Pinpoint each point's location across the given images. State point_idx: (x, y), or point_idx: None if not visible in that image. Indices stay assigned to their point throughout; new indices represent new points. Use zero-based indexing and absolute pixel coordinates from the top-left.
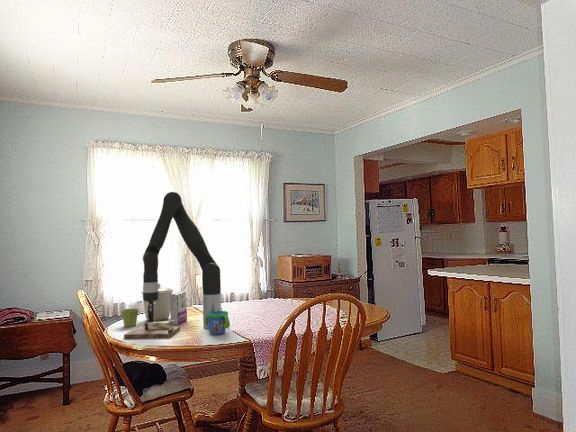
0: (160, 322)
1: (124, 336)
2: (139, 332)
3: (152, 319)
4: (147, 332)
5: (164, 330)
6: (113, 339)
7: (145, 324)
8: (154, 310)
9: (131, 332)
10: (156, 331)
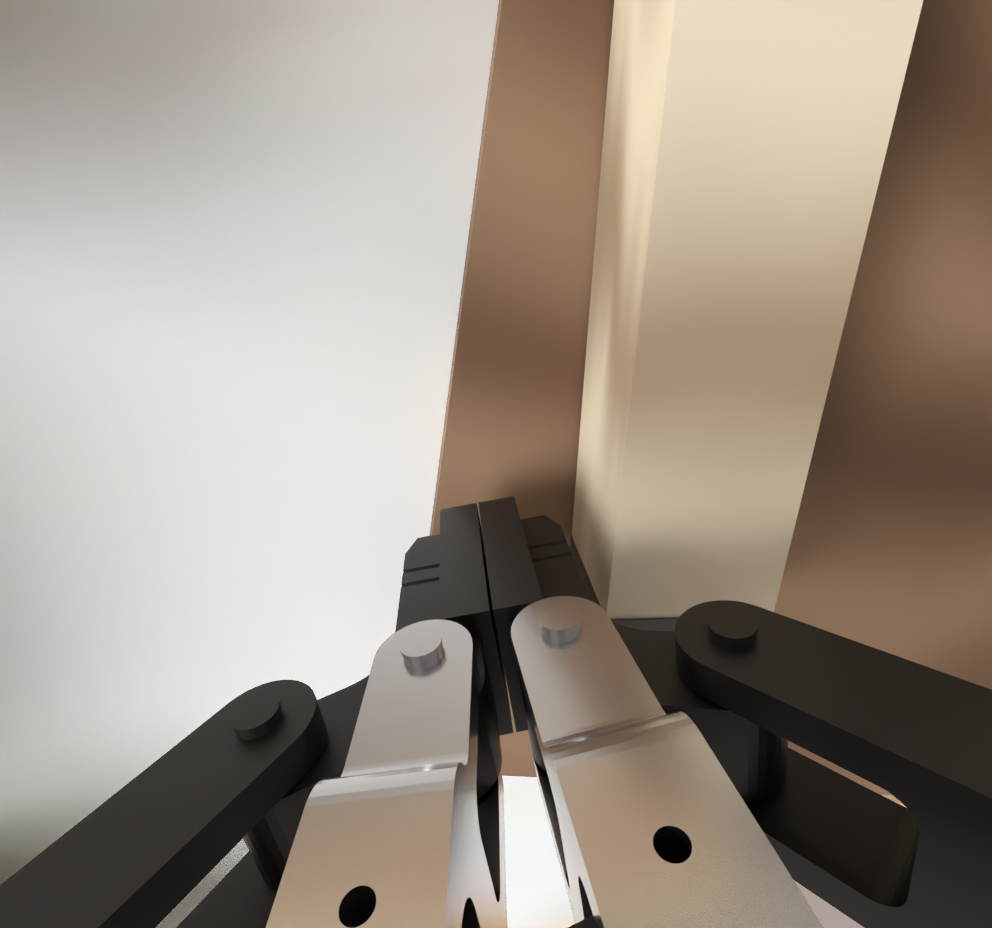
0: (788, 266)
1: None
2: (900, 625)
3: (589, 596)
4: (985, 482)
5: (980, 97)
6: None
7: None
8: (702, 878)
9: None
10: (989, 303)
